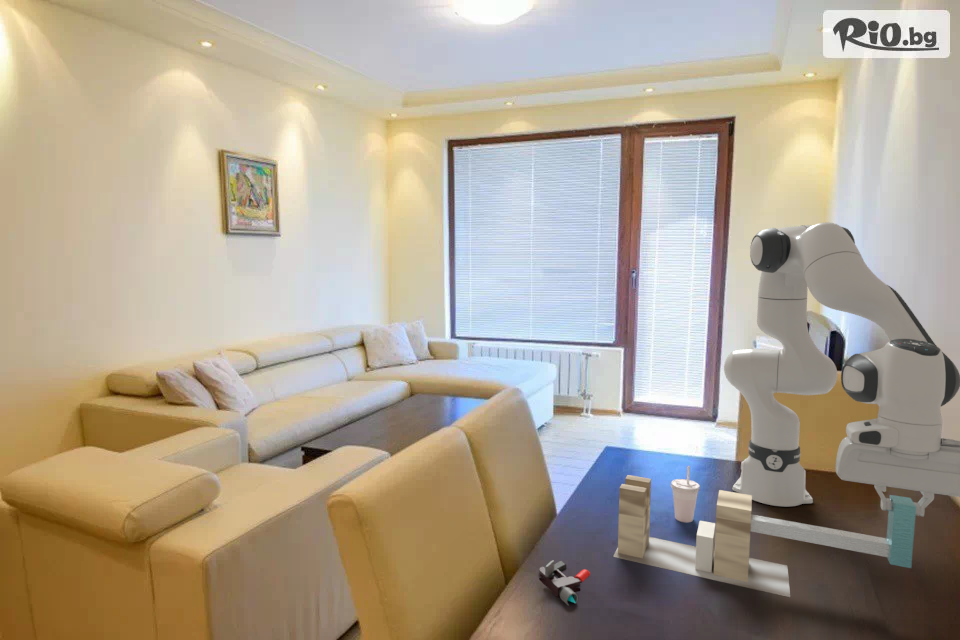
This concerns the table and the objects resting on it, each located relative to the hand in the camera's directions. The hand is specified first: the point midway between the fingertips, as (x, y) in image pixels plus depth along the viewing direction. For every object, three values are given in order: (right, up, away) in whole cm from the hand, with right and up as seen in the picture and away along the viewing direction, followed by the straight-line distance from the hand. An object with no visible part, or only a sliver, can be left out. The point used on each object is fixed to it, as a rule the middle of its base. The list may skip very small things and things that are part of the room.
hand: (901, 512), depth 98 cm
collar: (-28, -15, +15) cm, 36 cm away
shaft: (-11, -8, +6) cm, 15 cm away
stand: (-29, -17, +16) cm, 37 cm away
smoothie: (-25, -15, +35) cm, 46 cm away
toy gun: (-56, -18, +9) cm, 60 cm away
